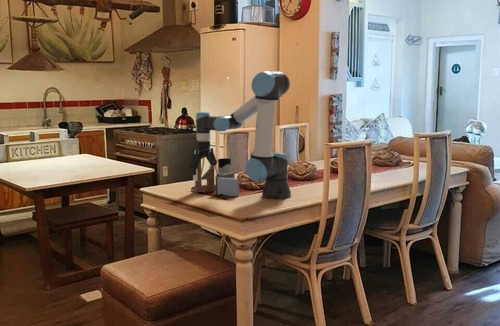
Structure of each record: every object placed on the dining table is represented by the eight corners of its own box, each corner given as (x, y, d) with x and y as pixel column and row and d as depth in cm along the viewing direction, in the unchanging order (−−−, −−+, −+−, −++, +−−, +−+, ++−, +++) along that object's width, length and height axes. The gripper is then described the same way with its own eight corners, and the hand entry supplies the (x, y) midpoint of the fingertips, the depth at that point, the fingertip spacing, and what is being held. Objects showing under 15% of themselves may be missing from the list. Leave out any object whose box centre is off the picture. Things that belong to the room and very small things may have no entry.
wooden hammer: (214, 191, 289) (214, 159, 286) (195, 193, 285) (195, 160, 282) (212, 190, 292) (212, 158, 290) (194, 192, 288) (193, 159, 286)
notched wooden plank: (234, 190, 293) (234, 170, 291) (217, 194, 281) (217, 174, 279) (231, 189, 294) (231, 170, 292) (214, 194, 282) (214, 174, 280)
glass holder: (223, 186, 304) (222, 160, 301) (209, 182, 315) (208, 158, 312) (235, 184, 309) (234, 159, 307) (221, 181, 320) (220, 156, 318)
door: (220, 193, 283) (219, 176, 281) (240, 195, 277) (239, 178, 276) (217, 194, 280) (217, 177, 279) (237, 196, 275) (237, 179, 273)
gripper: (212, 138, 296) (213, 174, 300) (182, 142, 277) (183, 181, 280) (223, 138, 292) (223, 176, 295) (192, 143, 272) (193, 183, 276)
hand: (203, 178), depth 288 cm, fingers open, 13 cm apart
